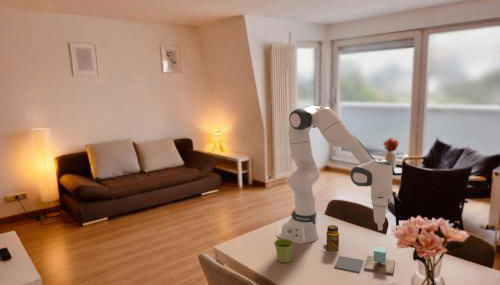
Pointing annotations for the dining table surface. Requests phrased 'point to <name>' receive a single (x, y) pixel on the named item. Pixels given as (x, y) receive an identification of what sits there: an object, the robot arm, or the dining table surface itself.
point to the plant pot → (284, 249)
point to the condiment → (332, 240)
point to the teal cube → (379, 254)
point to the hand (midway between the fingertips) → (381, 225)
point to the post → (379, 265)
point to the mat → (348, 264)
